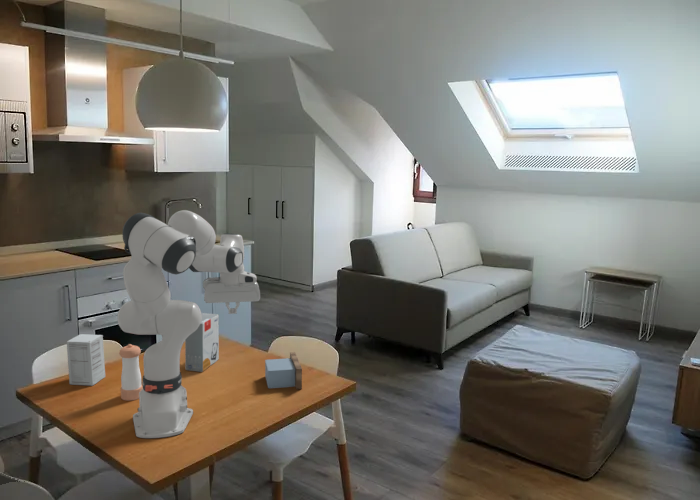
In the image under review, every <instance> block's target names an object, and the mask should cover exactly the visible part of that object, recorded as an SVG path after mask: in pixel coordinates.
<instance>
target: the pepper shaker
mask: <svg viewBox="0 0 700 500" xmlns="http://www.w3.org/2000/svg"><path fill="white" fill-rule="evenodd" d="M141 352H142V350H141V348H140V346H138V345H134V344H131V343H128V344H127V345H126V346H122V347H121V348H120V350H119V356H120V357H121V363H122V370H121V377H120V381H121V387H120V398H121V400H123V401H136V400H138V399H139V392H140V391H141V390H142V389H143V384H142V374H141V370H140V362H139V361H140V359H139V356H140V355H141Z"/></svg>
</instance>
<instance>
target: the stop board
mask: <svg viewBox="0 0 700 500" xmlns="http://www.w3.org/2000/svg"><path fill="white" fill-rule="evenodd" d="M289 358H291V360H292V362H293V365H294V368H295V387H294V388H295V389H296V390H302V388H303V381H302V380H303V368H302V365H301V363H300V360H299V359H298V356H297V354H296V352H295V351H293V352H289Z"/></svg>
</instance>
